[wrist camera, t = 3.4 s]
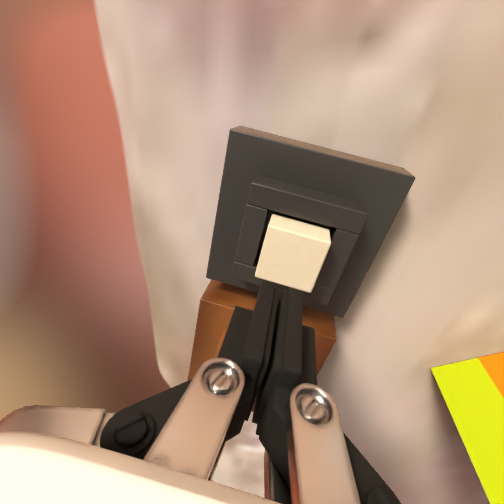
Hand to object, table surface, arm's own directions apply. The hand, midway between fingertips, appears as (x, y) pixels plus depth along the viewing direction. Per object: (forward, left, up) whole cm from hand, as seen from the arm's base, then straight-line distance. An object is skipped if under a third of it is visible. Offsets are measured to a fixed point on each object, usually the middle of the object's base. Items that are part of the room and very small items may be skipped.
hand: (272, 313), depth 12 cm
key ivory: (0, 0, -5) cm, 5 cm away
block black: (0, 0, -9) cm, 9 cm away
